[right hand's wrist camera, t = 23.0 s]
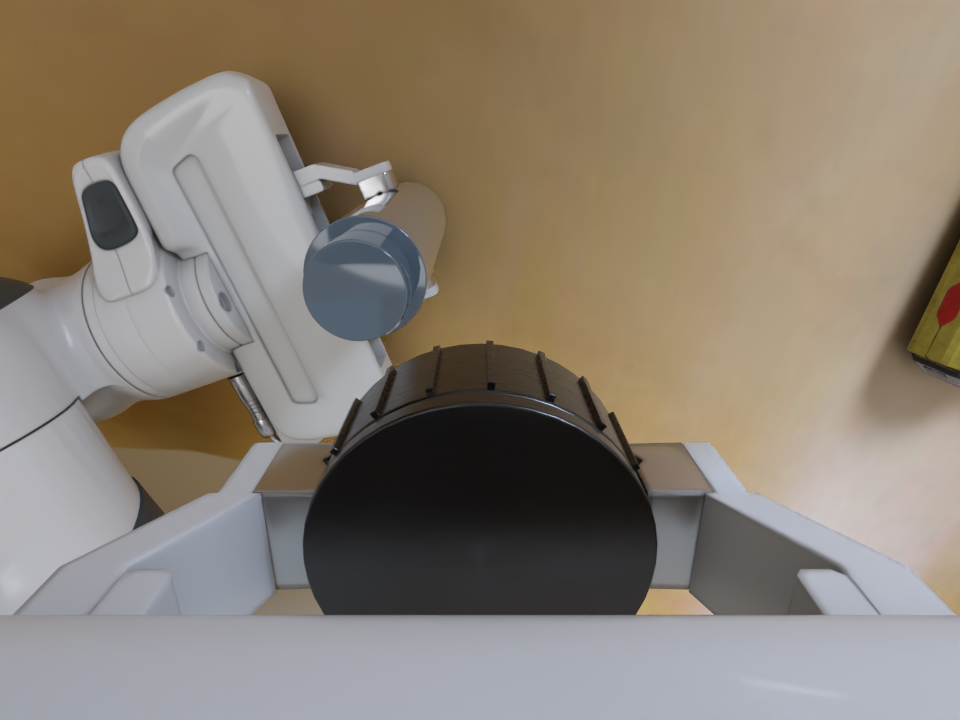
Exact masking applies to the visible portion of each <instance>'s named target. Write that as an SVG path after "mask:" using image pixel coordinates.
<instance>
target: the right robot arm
mask: <svg viewBox="0 0 960 720" xmlns="http://www.w3.org/2000/svg"><path fill="white" fill-rule="evenodd" d="M629 445H630V447H631V449H632V451H633V454H634V456H635V458H636V460H637V462H638V464H639V466H640V469H639V470H637V471H635V472H636V474H637V476H638V478H639V480H640V483H641V485H642V487H643V489H644V491H645V494H646V496H647V498H648V500H649V502H650V505H651V508H652V512H653V516H654V519H655V523H656V531H657V541H658V545H657V560H656V566H655V570H654V575H653V579H652V582H651V585H650V587H649V588H652V589H689V592H690V593H691V594H692V595H693V596H694V597H695V598H696V599H697V600H699V601H700V602H701V603H702V604H703V605H704V606H705V607H706V608H708V609H709V610H710V611H711V612H712V613H713V614H714V615H252V614H253V613H254V612H255V611H256V610H257V609H258V608H260V607H261V606H262V605H263V604H264V603H265V602H266V601H267V600H268V599H270V598H271V597H272V596H273V595H274V594H275V593H276V590H277V589H311V587H310V584H309V582H308V579H307V574H306V570H305V565H304V560H303V533H304V524H305V520H306V516H307V512H308V509H309V505H310V503H311V500H312V498H313V496H314V494H315V492H316V489H317V487H318V485H319V483H320V481H321V478H322V476H323V474H324V472H325V470H326V467H327V465H326V464H325V463H324V462H325V460H326V459H329V458H331V456H332V454H331V453H330V450H331V448H332V446H333V443H285V442H262V443H255V444H253V445H252V447H251V448H250V449H249V451H248V452H247V453H246V455H245V456H244V457H243V459H242V460H241V462H240V463H239V464H238V466H237V467H236V468H235V470H234V471H233V473H232V474H231V475H230V477H229V478H228V479H227V481H226V482H225V483H224V485H223V486H222V487H221V489H220V490H219V492H218V493H208V494H205V495H203V496H201V497H199V498H197V499H195V500H193V501H191V502H189V503H187V504H185V505H183V506H181V507H179V508H177V509H175V510H173V511H171V512H169V513H167V514H165V515H163V516H161V517H159V518H157V519H155V520H153V521H151V522H149V523H147V524H145V525H143V526H141V527H139V528H137V529H135V530H133V531H131V532H129V533H126V534H124V535H122V536H120V537H118V538H116V539H114V540H112V541H110V542H108V543H106V544H104V545H102V546H100V547H98V548H96V549H94V550H92V551H90V552H88V553H86V554H84V555H82V556H80V557H78V558H76V559H74V560H72V561H70V562H68V563H66V564H64V565H62V566H60V567H59V568H58V569H57V570H56V571H55V572H54V573H53V574H52V575H51V576H50V577H49V578H48V579H47V580H46V581H45V582H44V583H43V584H42V585H41V586H40V587H39V588H38V589H37V590H36V591H35V592H34V593H33V594H32V595H31V596H30V597H29V598H28V599H27V601H26V602H25V603H24V604H23V605H22V606H21V607H20V608H19V609H18V610H17V611H16V612H15V613H14V614H13V615H0V720H960V615H955V614H954V613H953V612H952V610H951V609H950V608H949V607H948V606H947V605H946V604H945V603H944V602H943V601H942V600H941V599H940V598H939V597H938V596H937V595H936V594H935V593H934V592H933V591H932V590H931V589H930V588H929V587H928V586H927V585H926V584H925V583H924V582H923V581H922V580H921V579H920V578H919V577H918V576H917V575H916V574H915V573H914V572H913V571H912V570H911V569H910V568H909V567H907V566H905V565H903V564H901V563H899V562H897V561H895V560H893V559H891V558H889V557H887V556H885V555H883V554H881V553H879V552H877V551H875V550H873V549H871V548H869V547H867V546H864V545H862V544H860V543H858V542H856V541H854V540H852V539H850V538H848V537H846V536H844V535H842V534H840V533H838V532H836V531H834V530H832V529H830V528H828V527H826V526H824V525H822V524H820V523H818V522H816V521H814V520H812V519H810V518H807V517H805V516H803V515H801V514H799V513H797V512H795V511H793V510H791V509H789V508H787V507H785V506H783V505H781V504H779V503H777V502H775V501H773V500H771V499H769V498H767V497H765V496H763V495H761V494H759V493H748V492H747V490H746V489H745V488H744V486H743V485H742V484H741V482H740V481H739V480H738V478H737V477H736V476H735V474H734V473H733V472H732V470H731V469H730V468H729V466H728V465H727V464H726V462H725V461H724V460H723V459H722V457H721V456H720V455H719V453H718V452H717V451H716V449H715V448H714V447H713V445H712V444H710V443H708V442H691V443H643V444H629Z"/></svg>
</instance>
